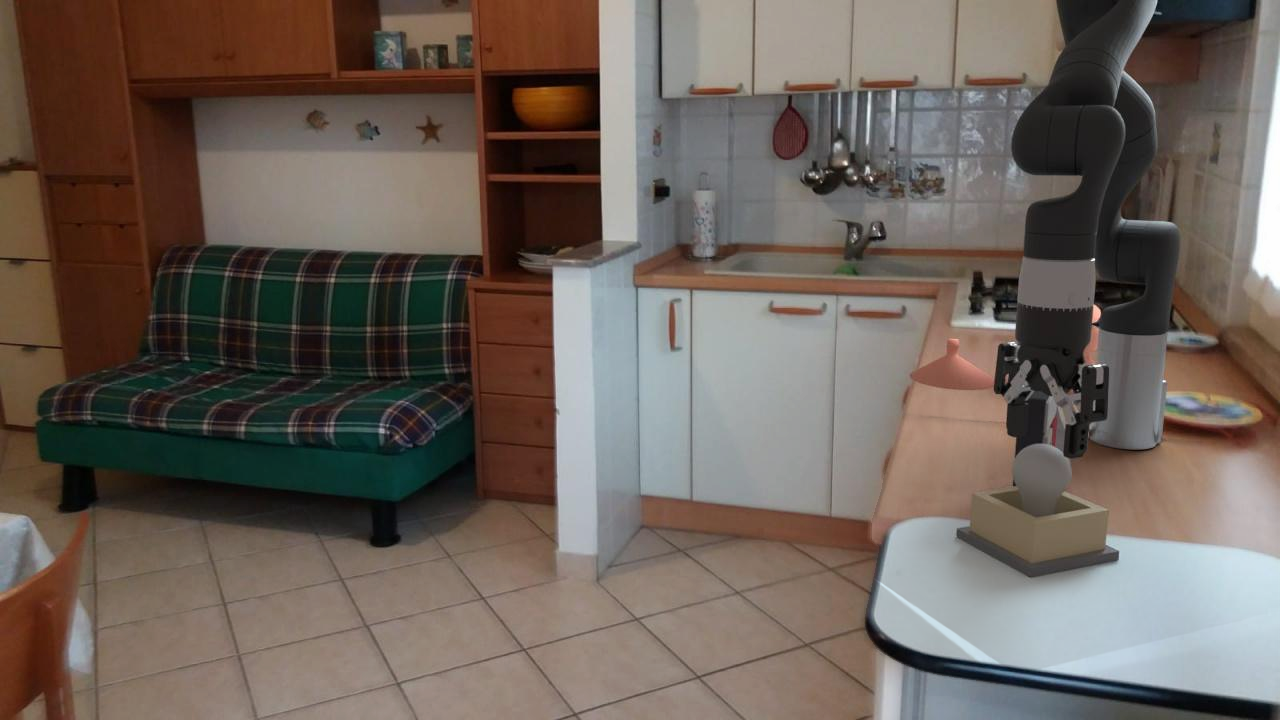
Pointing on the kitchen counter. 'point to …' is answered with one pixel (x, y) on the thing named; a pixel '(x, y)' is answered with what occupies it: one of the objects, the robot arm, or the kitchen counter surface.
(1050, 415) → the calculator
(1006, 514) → the bulb holder
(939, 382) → the ceramic vessels
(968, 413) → the kitchen counter surface
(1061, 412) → the grey block
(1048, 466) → the lightbulb
